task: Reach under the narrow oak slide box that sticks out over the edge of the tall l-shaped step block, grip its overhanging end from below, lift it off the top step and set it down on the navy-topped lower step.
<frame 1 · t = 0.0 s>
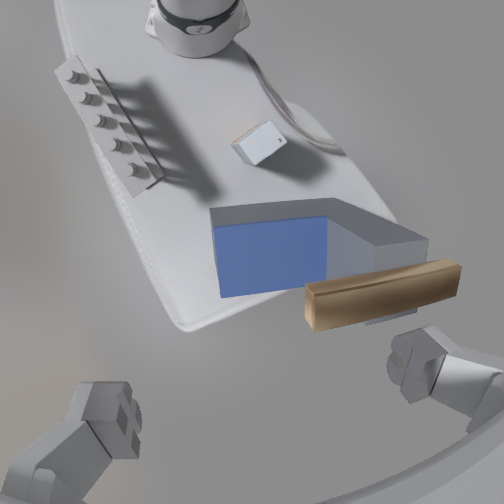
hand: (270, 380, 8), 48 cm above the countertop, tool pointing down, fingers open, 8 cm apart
l-shaped step block: (275, 228, 58), on the countertop
skincare box: (249, 143, 52), on the countertop
test tube rack: (118, 126, 47), on the countertop
slide box: (385, 285, 33), point 28 cm above the countertop, touching l-shaped step block
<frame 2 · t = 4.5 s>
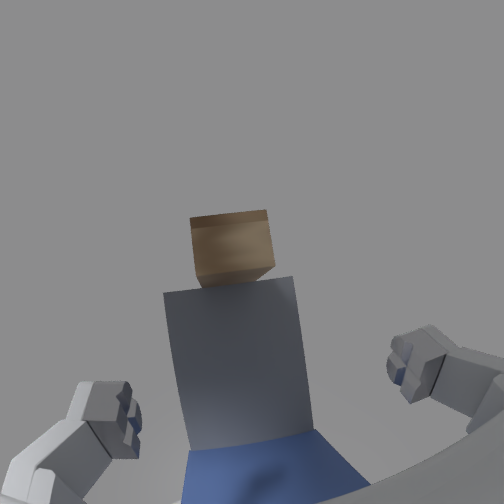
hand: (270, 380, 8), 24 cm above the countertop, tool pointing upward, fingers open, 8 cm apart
slide box: (227, 286, 25), point 28 cm above the countertop, touching l-shaped step block
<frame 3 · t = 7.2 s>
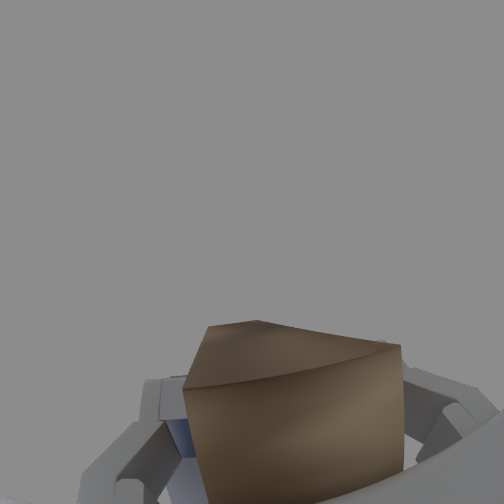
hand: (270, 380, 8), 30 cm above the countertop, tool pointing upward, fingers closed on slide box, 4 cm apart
slide box: (253, 389, 14), point 28 cm above the countertop, touching gripper, l-shaped step block
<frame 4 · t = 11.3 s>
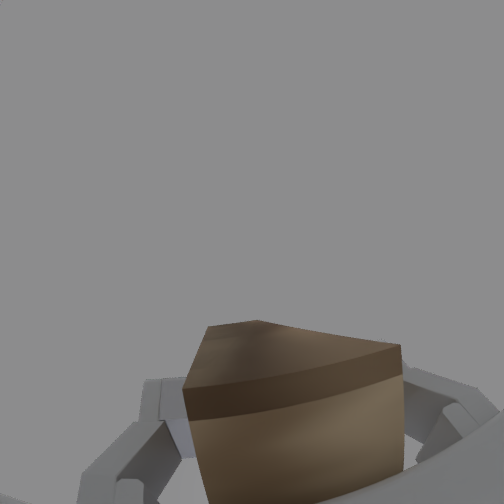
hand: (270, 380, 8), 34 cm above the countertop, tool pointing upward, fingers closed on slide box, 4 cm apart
slide box: (253, 389, 14), point 32 cm above the countertop, touching gripper
when the fingers open (18 cm above the countertop, at t = 15.5 s): slide box drops 1 cm, resting on l-shaped step block.
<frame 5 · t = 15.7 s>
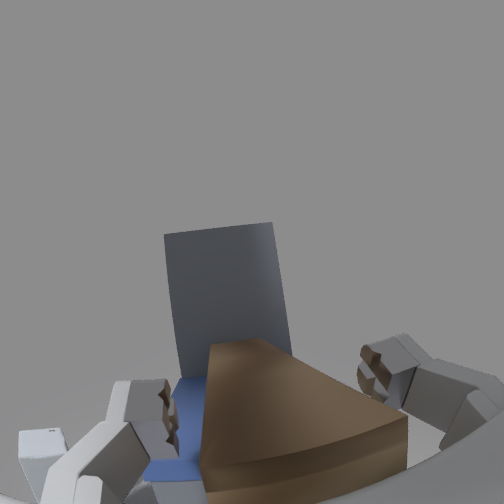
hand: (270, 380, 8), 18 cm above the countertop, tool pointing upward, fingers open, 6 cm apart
slide box: (257, 416, 14), point 15 cm above the countertop, touching l-shaped step block
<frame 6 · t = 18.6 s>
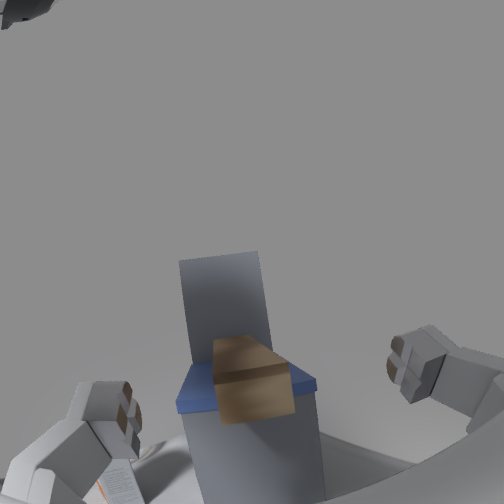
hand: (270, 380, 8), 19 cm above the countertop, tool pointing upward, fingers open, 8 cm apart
l-shaped step block: (255, 475, 29), on the countertop
skincare box: (122, 500, 23), on the countertop
slide box: (242, 380, 24), point 15 cm above the countertop, touching l-shaped step block
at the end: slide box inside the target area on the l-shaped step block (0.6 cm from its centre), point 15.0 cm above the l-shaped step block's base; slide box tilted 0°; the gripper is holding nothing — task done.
